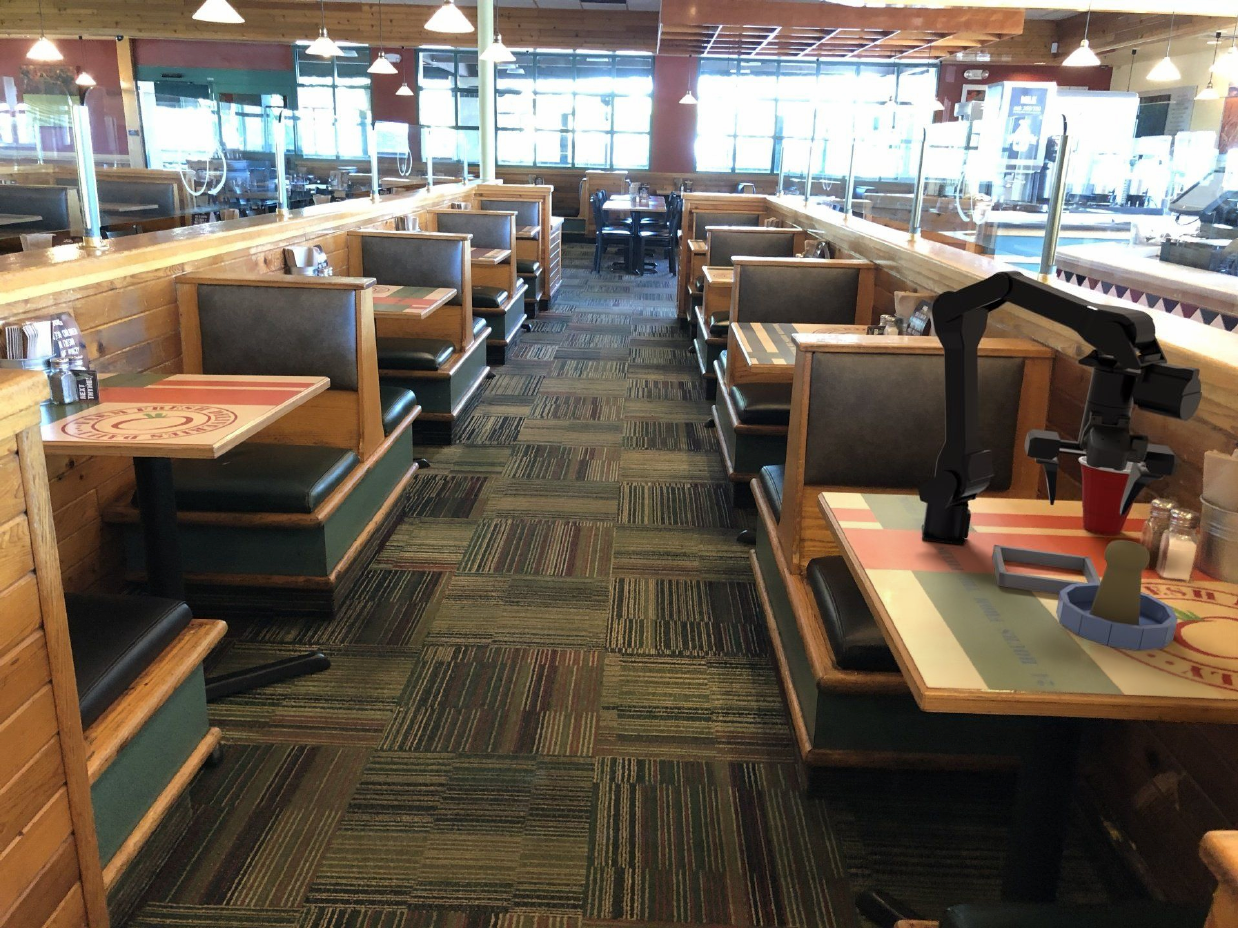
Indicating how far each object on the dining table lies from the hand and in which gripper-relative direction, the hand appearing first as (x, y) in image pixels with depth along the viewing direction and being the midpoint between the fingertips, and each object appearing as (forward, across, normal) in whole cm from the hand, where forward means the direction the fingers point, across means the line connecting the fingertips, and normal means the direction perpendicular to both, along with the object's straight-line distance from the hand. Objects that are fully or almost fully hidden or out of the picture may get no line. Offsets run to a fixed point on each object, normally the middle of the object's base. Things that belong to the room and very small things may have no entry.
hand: (1086, 509), depth 139 cm
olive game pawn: (+11, +4, -13) cm, 17 cm away
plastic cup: (+12, +8, +27) cm, 31 cm away
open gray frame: (+12, -4, +1) cm, 12 cm away
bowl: (+11, +4, -13) cm, 18 cm away
